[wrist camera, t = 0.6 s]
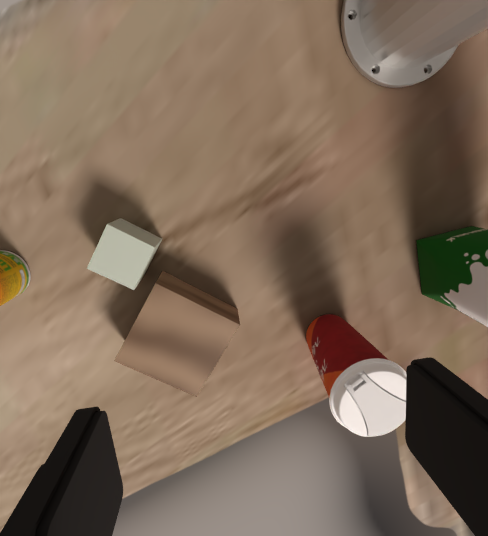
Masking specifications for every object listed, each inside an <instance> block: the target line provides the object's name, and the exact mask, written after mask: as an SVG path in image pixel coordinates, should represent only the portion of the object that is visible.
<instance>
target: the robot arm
mask: <svg viewBox="0 0 488 536" xmlns="http://www.w3.org/2000/svg"><path fill="white" fill-rule="evenodd" d="M348 16H350V17H351V20H350V19H349V18H348ZM486 29H488V0H344V1H343V7H342V14H341V31H342V37H343V43H344V46H345V49H346V52H347V54H348V56H349V58H350V60H351V61H352V63H353V65H354V66H355V67H356V69H357V70H358V71H359V72H360V73H361V74H362V75H363V76H364V77H366V78H367V79H368V80H370V81H372V82H374V83H376V84H378V85H380V86H385V87H389V88H403V87H407V86H412V85H414V84H417V83H419V82H422V81H424V80H426V79H428V78H429V77H431V76H433V75H434V74H435V73H436V72H437V71H439V70H440V69H441V68H442V67H443V66H444V65H445V64H446V63H447V61H448V60H449V59H450V58H451V57H452V55H453V53H454V52H455V50H456V48H457V47H458V45H459V44H460V43H462V42H464V41H466V40H467V39H469V38H471V37H473V36H475V35H477V34H479V33H481V32H482V31H484V30H486ZM372 69H373V70H374V74H373V72H372ZM424 70H425V72H424ZM405 437H406V443H407V446H408V448H409V450H410V451H411V452H412V454H413V455H414V456H415V458H416V459H417V460H418V462H419V463H420V464H421V465H422V467H423V468H424V469H425V471H426V472H427V473H428V475H429V476H430V477H431V479H432V480H433V481H434V482H435V484H436V485H437V486H438V488H439V489H440V490H441V492H442V493H443V494H444V496H445V497H446V498H447V500H448V501H449V502H450V503H451V505H452V506H453V507H454V509H455V510H456V511H457V513H458V514H459V515H460V517H461V518H462V519H463V520H464V522H465V523H466V524H467V526H468V527H469V528H470V530H471V531H472V532H473V534H474V535H475V536H488V399H486V398H485V397H484V396H482V395H481V394H480V393H478V392H477V391H476V390H474V389H473V388H472V387H471V386H469V385H468V384H467V383H465V382H464V381H463V380H461V379H460V378H459V377H457V376H456V375H455V374H453V373H452V372H451V371H450V370H448V369H447V368H446V367H444V366H443V365H442V364H440V363H439V362H438V361H436V360H435V359H434V358H423V359H417V360H413V361H412V362H411V365H409V366H408V367H407V371H406V432H405ZM122 496H123V484H122V479H121V475H120V470H119V466H118V462H117V457H116V453H115V448H114V444H113V439H112V435H111V431H110V426H109V422H108V417H107V414H106V412H105V411H100V409H99V407H91V408H85V409H78V410H76V412H75V413H74V415H73V416H72V418H71V420H70V421H69V423H68V425H67V427H66V428H65V430H64V432H63V433H62V435H61V437H60V439H59V440H58V442H57V444H56V445H55V447H54V449H53V451H52V452H51V454H50V456H49V457H48V459H47V461H46V462H45V464H43V465H41V467H40V468H39V469H38V471H37V472H36V474H35V476H34V477H33V479H32V481H31V482H30V484H29V486H28V488H27V489H26V491H25V493H24V494H23V496H22V498H21V499H20V501H19V503H18V504H17V506H16V508H15V509H14V511H13V513H12V514H11V516H10V518H9V519H8V521H7V523H6V524H5V526H4V528H3V529H2V531H1V533H0V536H112V534H113V530H114V526H115V523H116V519H117V515H118V512H119V508H120V505H121V501H122Z"/></svg>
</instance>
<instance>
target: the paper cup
mask: <svg viewBox="0 0 488 536" xmlns="http://www.w3.org/2000/svg"><path fill="white" fill-rule="evenodd" d="M306 339H307V343H308V346H309V349H310V352H311V354H312V357H313V359H314V362H315V364H316V367H317V369H318V371H319V374H320V376H321V379H322V381H323V384H324V386H325V388H326V391H327V393H328V396H329V398H330V399H329V402H330V408H331V411H332V414H333V415H334V417H335V419H336V420H337V421H338V422H339V423H340V424H341V425H343V426H344V427H346V428H347V429H349V430H350V431H351V432H353V433H355V434H358V435H360V436H365V437H367V436H368V437H370V436H379V435H384V434H386V433H389V432H391V431H393V430H394V429H396V428H397V427H398V426H400V425H401V424H402V423H403V422H404V421H405V420H406V372H405V370H404V369H403V368H402V367H401V366H399V365H398V364H396V363H395V362H392V361H390V360H388V359H387V358H386V357H385V356H384V355H383V354H382V353H380V352H379V351H378V350H377V349H376V348H375V347H374V346H373V345H372V344H371V343H370V342H368V341H367V340H366V339H365V338H364V337H363V336H362V335H361V334H360V333H359V332H357V331H356V330H355V329H354V328H353V327H352V326H351V325H350V324H348V323H347V322H346V321H345V320H344V319H342V318H341V317H339V316H337V315H333V314H326V315H322V316H320V317H318V318H316V319H315V320H314V321H312V323H311V324H310V325H309V327H308V329H307V333H306Z"/></svg>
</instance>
